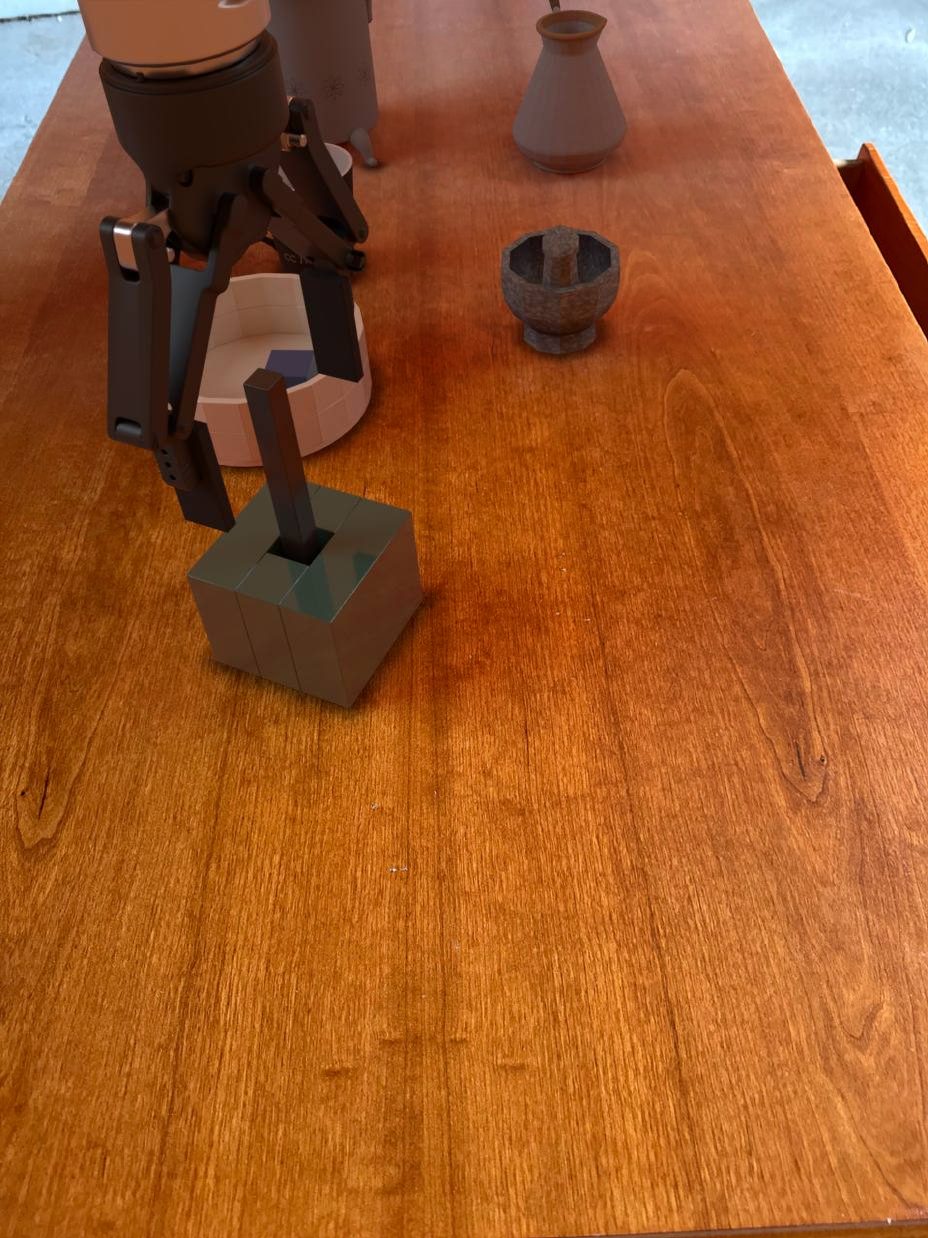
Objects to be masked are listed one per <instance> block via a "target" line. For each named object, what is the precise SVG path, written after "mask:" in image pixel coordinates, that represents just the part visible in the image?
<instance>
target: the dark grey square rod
mask: <svg viewBox="0 0 928 1238" xmlns="http://www.w3.org/2000/svg"><path fill="white" fill-rule="evenodd" d="M243 388H244V392H245V396H246V400H247V404H248V408H249V412H250V416H251V420H252V424H253V428H254V432H255V436H256V440H257V444H258V448H259V452H260V456H261V460H262V464H263V466H262V467H263V471H264V477H265V480H266V482H267V484H268V488H269V492H270V496H271V500H272V504H273V508H274V512H275V516H276V520H277V524H278V528H279V532H280V536H281V540H282V544H283V548H284V552H285V556H286V559H289V560H292V561H295V562H298V563H302V564H305V565H308V566H310V565H311V564H312V562H313V561H314V560H315V558H316V557H317V556H318V555H319V553H320V552H321V547H320V543H319V538H318V533H317V529H316V524H315V519H314V515H313V510H312V506H311V501H310V496H309V492H308V487H307V482H306V481H307V478H306V474H305V469H304V465H303V459H302V457H301V454H300V450H299V445H298V440H297V436H296V431H295V426H294V422H293V417H292V413H291V408H290V403H289V399H288V394H287V389H286V385H285V380H284V375H283V374H282V373H279V372H275V371H271V370H267V369H263V368H257V369H256V370H255V371H254V373H253V374H252V375H251V376H250V377H249V378H248V379H247V380H246V381H245V382H244V383H243Z"/></svg>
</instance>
